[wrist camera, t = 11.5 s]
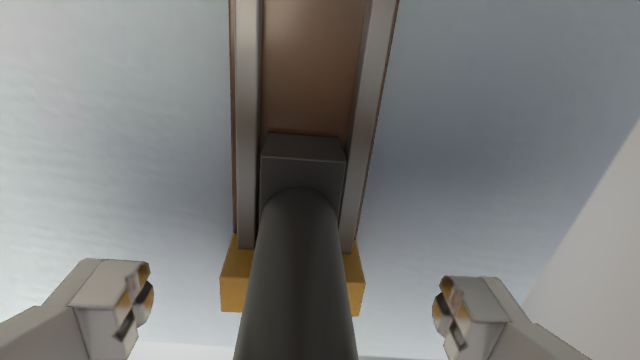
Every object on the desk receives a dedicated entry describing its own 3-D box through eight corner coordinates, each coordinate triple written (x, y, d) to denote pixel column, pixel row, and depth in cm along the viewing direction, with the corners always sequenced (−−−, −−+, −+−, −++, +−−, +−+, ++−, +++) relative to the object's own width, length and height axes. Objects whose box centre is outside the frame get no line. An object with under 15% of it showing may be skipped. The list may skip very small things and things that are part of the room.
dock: (232, 232, 16) (218, 277, 14) (356, 239, 17) (366, 283, 14) (233, 264, 17) (220, 312, 14) (350, 270, 18) (358, 317, 15)
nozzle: (266, 131, 14) (208, 334, 5) (340, 137, 14) (397, 339, 6) (263, 251, 16) (221, 510, 8) (324, 254, 17) (346, 508, 8)
